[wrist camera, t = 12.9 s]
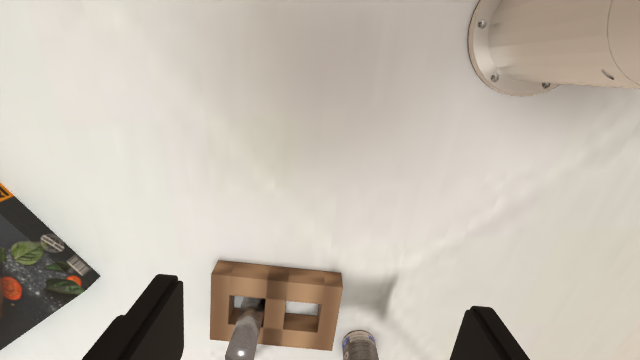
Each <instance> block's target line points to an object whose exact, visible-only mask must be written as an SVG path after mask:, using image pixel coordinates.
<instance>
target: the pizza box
mask: <svg viewBox="0 0 640 360" xmlns="http://www.w3.org/2000/svg"><path fill="white" fill-rule="evenodd" d="M99 277H100V275H99V274H98V273H97V272H96V271H94V270H93V269H92V268H91V267H90V266H89V265H88V264H87V263H86V262H85V261H84V260H83V259H81V258H80V257H79V256H78V255H77V254H76V253H75V252H74V251H73V250H72V249H71V248H70V247H69V246H67V245H66V244H65V243H64V242H63V241H62V240H61V239H60V238H59V237H58V236H57V235H56V234H55V233H53V232H52V231H51V230H50V229H49V228H48V227H47V226H46V225H45V224H44V223H43V222H42V221H41V220H39V219H38V218H37V217H36V216H35V215H34V214H33V213H32V212H31V211H30V210H29V209H28V208H26V207H25V206H24V205H23V204H22V203H21V202H20V201H19V200H18V199H17V198H16V197H15V196H14V195H12V194H11V193H10V192H9V191H8V190H7V189H6V188H5V187H4V186H3V185H2V184H1V183H0V350H1V349H3V348H4V347H6V346H7V345H8V344H10V343H11V342H13V341H14V340H16V339H17V338H18V337H20V336H21V335H23V334H24V333H26V332H27V331H28V330H30V329H31V328H33V327H34V326H36V325H37V324H38V323H40V322H41V321H43V320H44V319H46V318H47V317H48V316H50V315H51V314H53V313H54V312H56V311H57V310H58V309H60V308H61V307H63V306H64V305H66V304H67V303H68V302H70V301H71V300H73V299H74V298H76V297H77V296H78V295H80V294H81V293H83V292H84V291H85V290H87V289H88V288H89V287H90V286H91V285H92V284H93V283H94V282H95V281H96V280H97V279H98V278H99Z"/></svg>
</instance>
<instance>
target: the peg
mask: <svg viewBox="0 0 640 360" xmlns="http://www.w3.org/2000/svg"><path fill="white" fill-rule="evenodd" d="M265 302H266V299H264V298H254V297H244V299H243V302H242V305H241V308H240V311H239V314H238V317H237V320H236V324H235V327H234V330H233V333H232V336H231V339H230V342H229V345H228V348H227V352H226V355H225V360H254V356H255V351H256V346H257V342H258V337H259V333H260V328H261V324H262V319H263V315H264V310H265Z"/></svg>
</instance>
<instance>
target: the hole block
mask: <svg viewBox="0 0 640 360" xmlns="http://www.w3.org/2000/svg"><path fill="white" fill-rule="evenodd" d="M342 290H343V284H342V275H341V273H335V272H325V271H316V270H306V269H296V268H287V267H277V266H267V265H258V264H248V263H238V262H229V261H219V260H218V262H217V264H216V266H215V268H214V270H213V272H212V274H211V313H210V340H221V341H230V339H231V336H232V333H233V330H234V327H235V324H236V320H237V317H238V314H239V311H240V309H239V308H234V296H244V297H254V298H264V299H266V302H265V311H264V315H263V319H262V324H261V328H260V333H259V337H258V342H257V344H264V345H275V346H286V347H296V348H307V349H318V350H329V351H332V347H333V341H334V336H335V330H336V324H337V319H338V313H339V307H340V301H341V296H342ZM286 301H295V302H305V303H315V304H319V310H318V316H311V315H300V314H290V313H285V308H286Z"/></svg>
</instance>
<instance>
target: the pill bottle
mask: <svg viewBox="0 0 640 360" xmlns="http://www.w3.org/2000/svg"><path fill="white" fill-rule="evenodd" d="M342 348H343V360H379V358H378V353H377V349H376V344H375V340H374V338H373V337H372V336H371V335H370V334H369V333H367V332H364V331H356V332H352V333H350V334H348V335H347V336H346V337H345V338H344V340H343V344H342Z"/></svg>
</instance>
